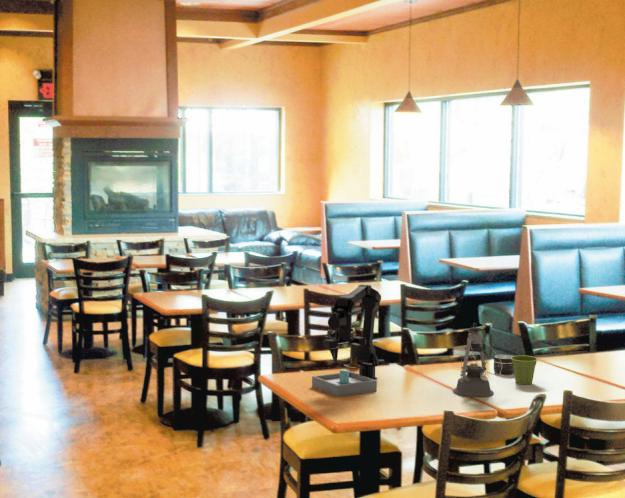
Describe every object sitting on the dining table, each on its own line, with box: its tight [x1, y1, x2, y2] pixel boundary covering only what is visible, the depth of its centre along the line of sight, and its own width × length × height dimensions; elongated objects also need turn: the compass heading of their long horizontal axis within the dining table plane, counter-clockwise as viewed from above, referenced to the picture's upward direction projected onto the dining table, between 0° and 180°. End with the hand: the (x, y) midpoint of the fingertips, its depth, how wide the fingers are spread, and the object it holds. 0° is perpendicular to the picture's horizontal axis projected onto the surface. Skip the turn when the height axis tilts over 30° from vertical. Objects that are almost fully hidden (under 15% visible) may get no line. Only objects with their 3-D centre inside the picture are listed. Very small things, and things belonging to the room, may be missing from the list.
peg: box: [339, 369, 350, 385], centre depth 419 cm, size 4×4×8 cm
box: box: [311, 371, 378, 397], centre depth 419 cm, size 20×20×4 cm
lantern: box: [452, 322, 502, 398], centre depth 413 cm, size 18×20×30 cm
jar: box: [493, 354, 514, 376], centre depth 454 cm, size 10×10×8 cm
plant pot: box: [511, 355, 539, 385], centre depth 434 cm, size 12×12×11 cm
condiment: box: [343, 343, 360, 369], centre depth 465 cm, size 7×8×12 cm
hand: (344, 361), depth 418 cm, fingers open, 9 cm apart
